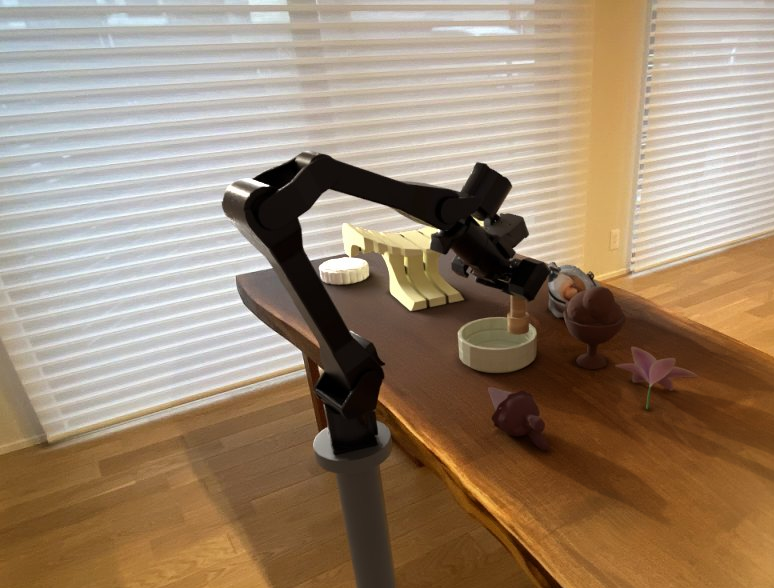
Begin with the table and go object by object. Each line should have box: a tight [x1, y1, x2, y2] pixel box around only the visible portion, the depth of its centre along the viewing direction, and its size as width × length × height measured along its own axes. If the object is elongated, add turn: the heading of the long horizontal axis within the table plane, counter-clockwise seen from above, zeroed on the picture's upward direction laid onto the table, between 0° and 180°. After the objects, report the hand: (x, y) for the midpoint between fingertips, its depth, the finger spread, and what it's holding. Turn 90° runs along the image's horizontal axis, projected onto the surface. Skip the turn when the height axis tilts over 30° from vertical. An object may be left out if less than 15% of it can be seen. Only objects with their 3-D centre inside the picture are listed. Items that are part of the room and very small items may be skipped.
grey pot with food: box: [547, 261, 601, 319], centre depth 129 cm, size 15×12×14 cm
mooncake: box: [318, 256, 370, 286], centre depth 154 cm, size 12×12×4 cm
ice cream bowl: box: [563, 285, 627, 370], centre depth 110 cm, size 11×11×15 cm
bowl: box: [457, 316, 538, 374], centre depth 114 cm, size 14×14×5 cm
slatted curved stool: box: [341, 218, 484, 312], centre depth 140 cm, size 30×16×18 cm, turn 120°
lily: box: [614, 346, 699, 410], centre depth 100 cm, size 12×12×10 cm
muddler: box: [506, 266, 530, 335], centre depth 106 cm, size 4×4×12 cm
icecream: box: [487, 386, 549, 451], centre depth 92 cm, size 7×7×15 cm
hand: (523, 293), depth 107 cm, fingers closed on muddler, 2 cm apart
